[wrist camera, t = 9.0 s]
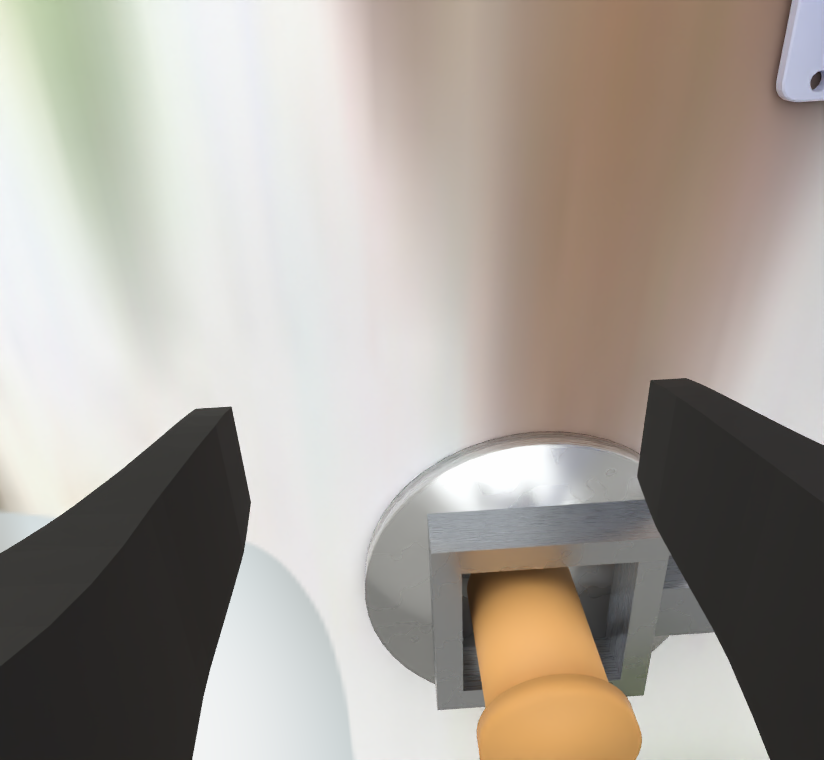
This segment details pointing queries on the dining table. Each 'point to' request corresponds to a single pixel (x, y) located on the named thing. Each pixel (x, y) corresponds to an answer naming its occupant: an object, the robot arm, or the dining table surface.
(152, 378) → the dining table surface
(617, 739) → the pin
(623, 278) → the dining table surface
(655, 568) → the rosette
